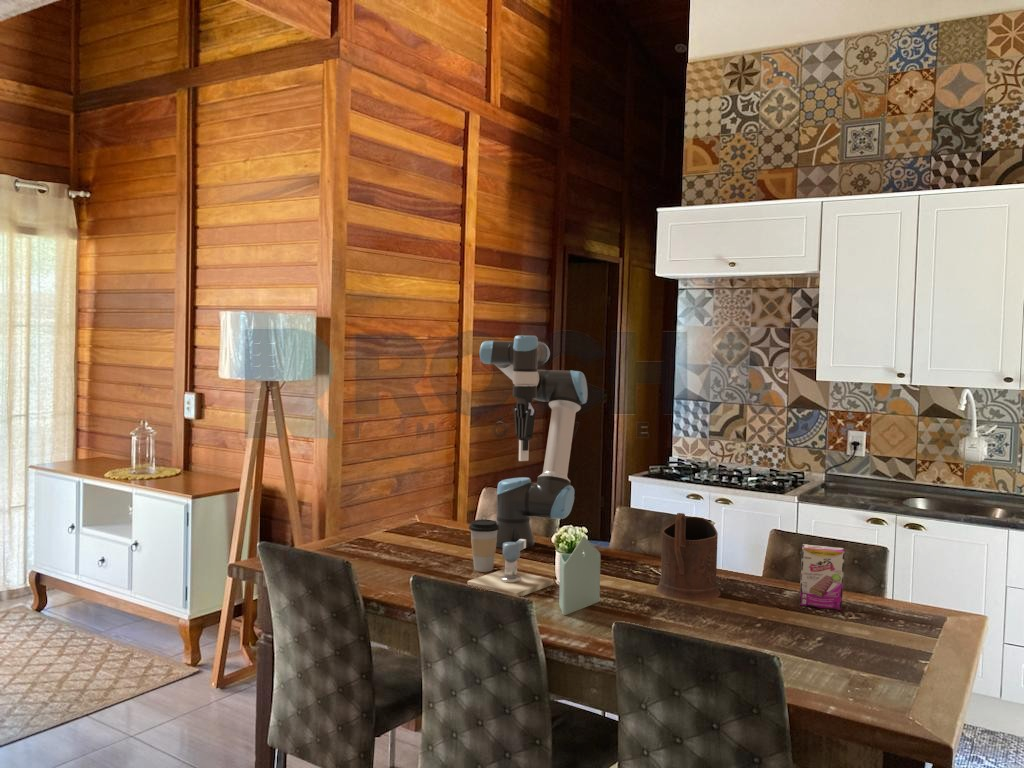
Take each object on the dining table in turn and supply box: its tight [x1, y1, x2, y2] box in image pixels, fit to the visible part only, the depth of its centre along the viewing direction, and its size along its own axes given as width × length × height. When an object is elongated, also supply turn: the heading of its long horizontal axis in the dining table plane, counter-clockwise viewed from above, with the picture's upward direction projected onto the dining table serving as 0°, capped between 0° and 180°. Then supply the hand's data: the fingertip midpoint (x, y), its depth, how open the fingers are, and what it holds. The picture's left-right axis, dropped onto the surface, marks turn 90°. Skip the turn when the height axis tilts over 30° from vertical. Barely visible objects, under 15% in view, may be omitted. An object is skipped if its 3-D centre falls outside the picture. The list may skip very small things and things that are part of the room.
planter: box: [558, 535, 601, 616], centre depth 235 cm, size 16×8×20 cm, turn 140°
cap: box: [502, 539, 527, 560], centre depth 257 cm, size 12×5×4 cm, turn 159°
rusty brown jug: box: [655, 512, 722, 602], centre depth 248 cm, size 18×24×25 cm
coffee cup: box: [468, 518, 499, 573], centre depth 270 cm, size 9×9×15 cm
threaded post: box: [500, 559, 521, 583], centre depth 253 cm, size 6×6×6 cm
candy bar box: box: [799, 543, 845, 611], centre depth 239 cm, size 11×5×16 cm, turn 71°
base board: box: [466, 568, 554, 597], centre depth 254 cm, size 18×18×2 cm
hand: (523, 460), depth 269 cm, fingers closed
